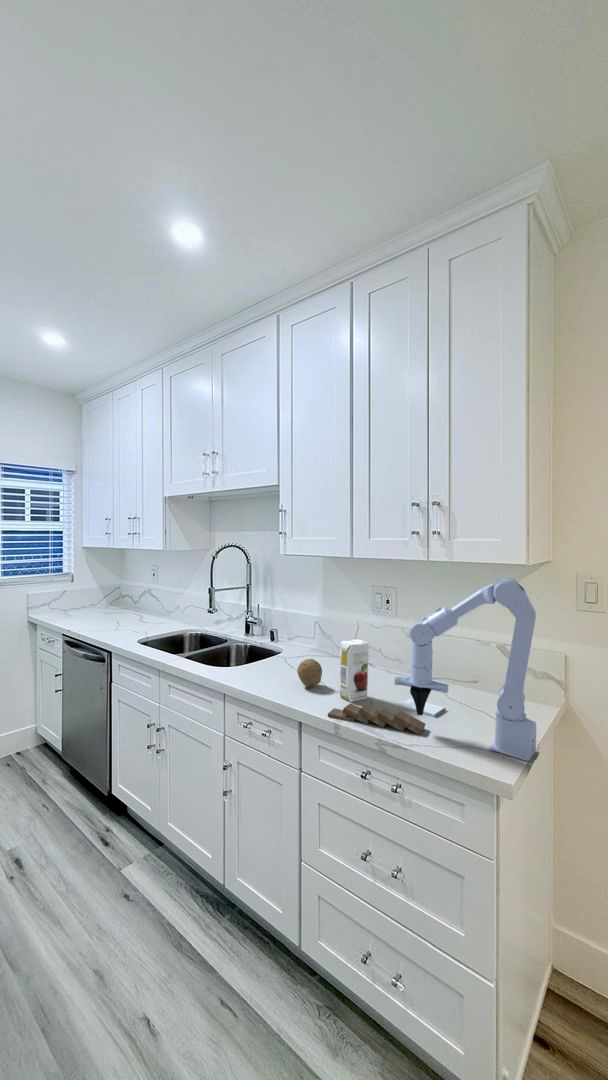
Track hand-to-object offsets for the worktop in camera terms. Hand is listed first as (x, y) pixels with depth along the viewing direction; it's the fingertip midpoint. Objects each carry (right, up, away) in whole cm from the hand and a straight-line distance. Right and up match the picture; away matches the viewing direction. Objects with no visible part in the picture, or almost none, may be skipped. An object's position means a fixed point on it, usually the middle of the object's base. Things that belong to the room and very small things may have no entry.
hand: (420, 714), depth 131 cm
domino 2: (-13, -4, +6) cm, 15 cm away
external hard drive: (+5, -6, +18) cm, 19 cm away
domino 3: (-9, -4, +4) cm, 10 cm away
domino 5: (+1, -4, 0) cm, 4 cm away
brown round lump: (-30, -4, +36) cm, 48 cm away
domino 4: (-4, -4, +2) cm, 6 cm away
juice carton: (-16, -5, +26) cm, 31 cm away
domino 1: (-17, -4, +8) cm, 19 cm away
